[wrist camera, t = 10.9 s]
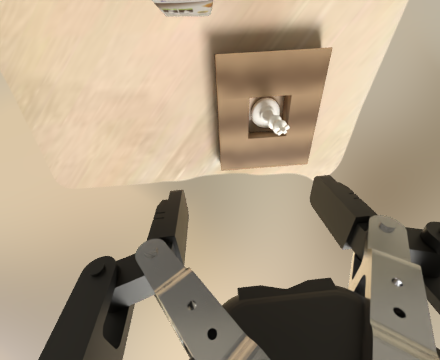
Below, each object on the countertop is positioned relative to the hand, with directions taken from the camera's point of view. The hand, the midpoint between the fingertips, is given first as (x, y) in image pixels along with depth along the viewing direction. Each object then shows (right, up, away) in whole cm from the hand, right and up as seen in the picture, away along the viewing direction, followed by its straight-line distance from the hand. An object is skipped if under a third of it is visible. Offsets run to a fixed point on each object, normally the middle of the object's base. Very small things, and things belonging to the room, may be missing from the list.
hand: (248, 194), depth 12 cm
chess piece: (+6, +13, +22) cm, 26 cm away
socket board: (+6, +12, +22) cm, 26 cm away
